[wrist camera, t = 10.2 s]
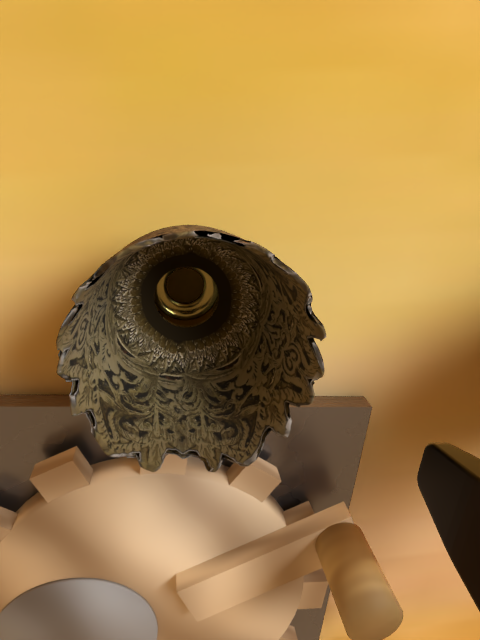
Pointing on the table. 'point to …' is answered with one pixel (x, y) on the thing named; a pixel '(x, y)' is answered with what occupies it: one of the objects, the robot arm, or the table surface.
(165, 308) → the cup
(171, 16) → the table surface
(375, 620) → the index wheel
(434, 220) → the table surface
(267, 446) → the base plate
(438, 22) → the table surface
